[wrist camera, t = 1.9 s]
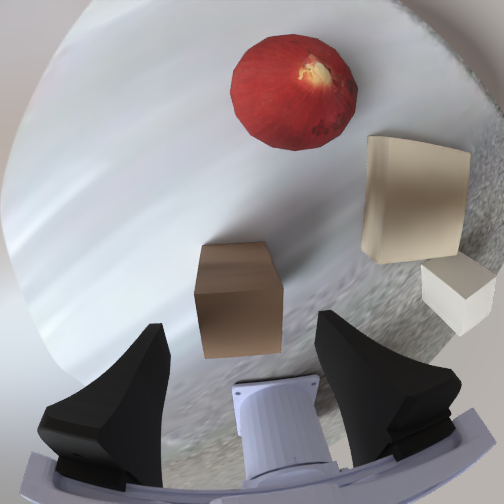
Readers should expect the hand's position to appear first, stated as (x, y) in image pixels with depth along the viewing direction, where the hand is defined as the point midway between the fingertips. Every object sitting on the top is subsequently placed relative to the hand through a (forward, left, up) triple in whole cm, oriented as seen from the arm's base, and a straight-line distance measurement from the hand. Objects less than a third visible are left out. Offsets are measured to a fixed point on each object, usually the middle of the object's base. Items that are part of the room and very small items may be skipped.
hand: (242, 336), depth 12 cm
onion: (+11, -3, -7) cm, 13 cm away
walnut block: (0, 0, -7) cm, 7 cm away
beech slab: (+5, -13, -7) cm, 16 cm away
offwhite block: (-2, -18, -7) cm, 19 cm away
